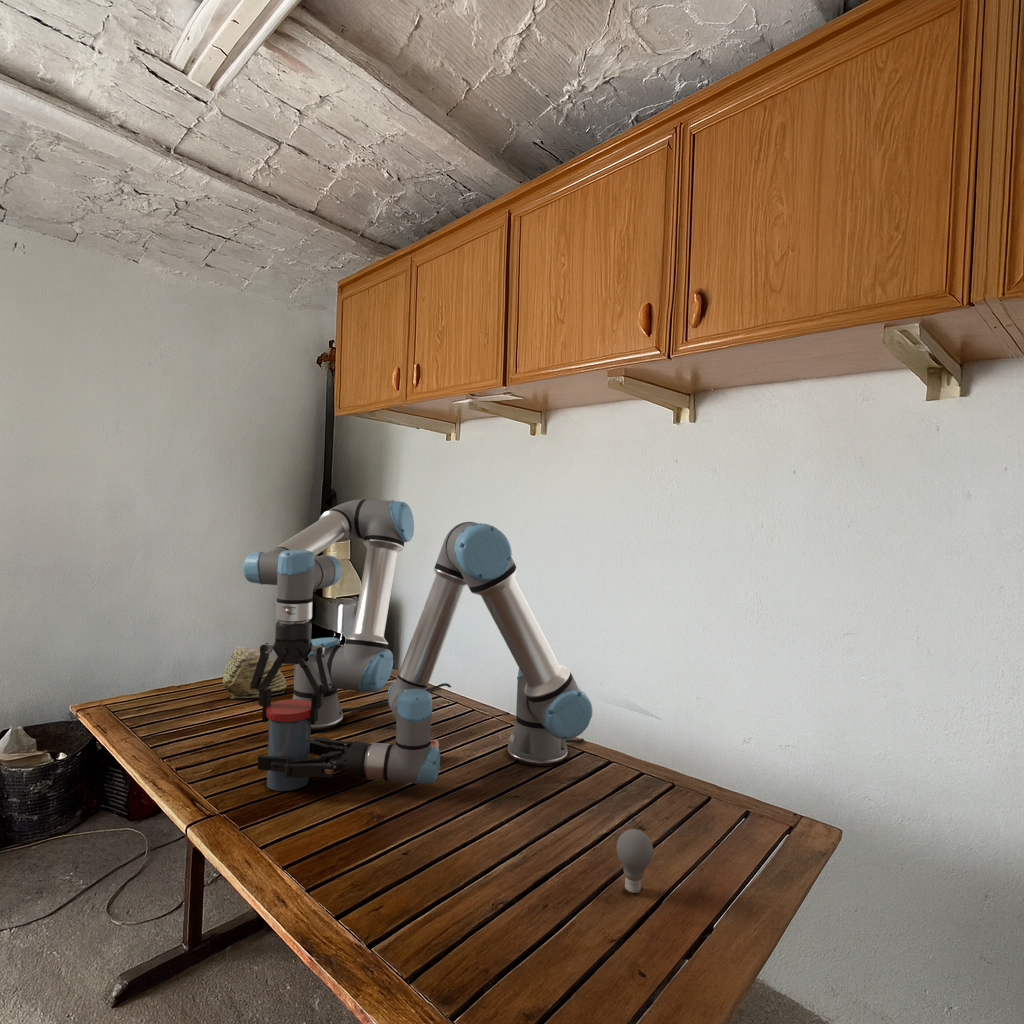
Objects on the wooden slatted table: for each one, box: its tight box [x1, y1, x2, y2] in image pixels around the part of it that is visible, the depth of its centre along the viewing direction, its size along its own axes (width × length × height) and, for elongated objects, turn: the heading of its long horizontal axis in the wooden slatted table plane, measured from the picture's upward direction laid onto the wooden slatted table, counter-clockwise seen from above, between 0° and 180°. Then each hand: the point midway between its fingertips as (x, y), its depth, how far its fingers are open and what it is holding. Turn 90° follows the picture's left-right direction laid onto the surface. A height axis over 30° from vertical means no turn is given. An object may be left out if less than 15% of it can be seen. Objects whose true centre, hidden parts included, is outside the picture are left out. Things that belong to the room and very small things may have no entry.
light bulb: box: [615, 828, 654, 894], centre depth 106 cm, size 6×6×10 cm
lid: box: [266, 698, 311, 722], centre depth 140 cm, size 10×10×2 cm
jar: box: [266, 717, 312, 792], centre depth 140 cm, size 9×9×16 cm
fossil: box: [222, 646, 288, 699], centre depth 198 cm, size 9×18×15 cm, turn 132°
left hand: (290, 721), depth 140 cm, fingers closed on lid, 10 cm apart
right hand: (268, 753), depth 140 cm, fingers closed on jar, 9 cm apart
